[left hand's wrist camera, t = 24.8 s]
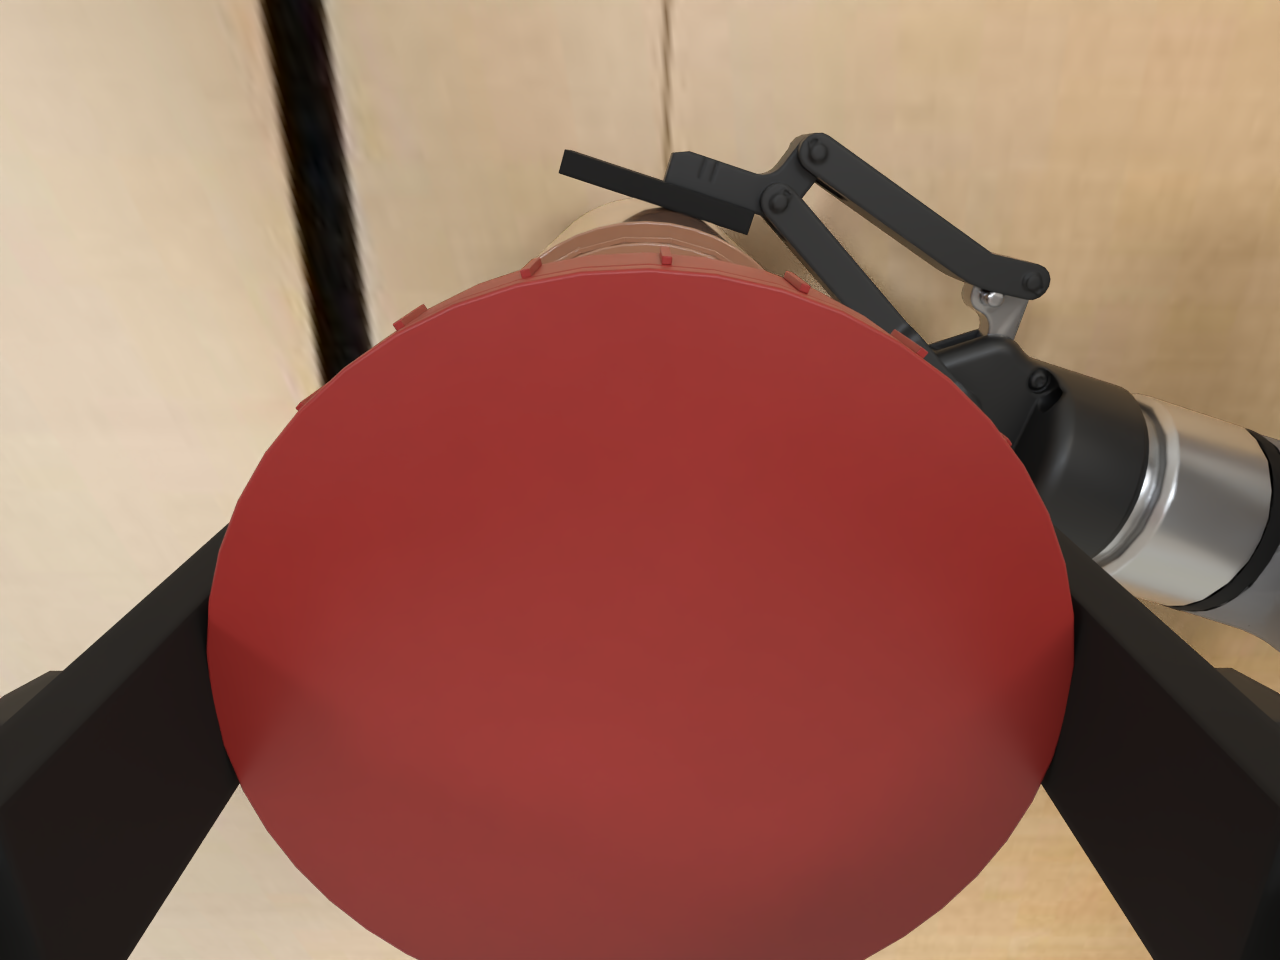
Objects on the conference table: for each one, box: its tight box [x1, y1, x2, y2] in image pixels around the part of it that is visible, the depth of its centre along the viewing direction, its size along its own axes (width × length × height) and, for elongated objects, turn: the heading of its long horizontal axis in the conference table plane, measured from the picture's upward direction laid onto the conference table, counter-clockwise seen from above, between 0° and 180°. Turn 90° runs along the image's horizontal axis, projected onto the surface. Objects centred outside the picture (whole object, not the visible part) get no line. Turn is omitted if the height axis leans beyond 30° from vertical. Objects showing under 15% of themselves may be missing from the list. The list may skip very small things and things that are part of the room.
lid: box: [206, 246, 1074, 960], centre depth 11 cm, size 11×11×2 cm
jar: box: [536, 198, 765, 271], centre depth 30 cm, size 10×10×16 cm
